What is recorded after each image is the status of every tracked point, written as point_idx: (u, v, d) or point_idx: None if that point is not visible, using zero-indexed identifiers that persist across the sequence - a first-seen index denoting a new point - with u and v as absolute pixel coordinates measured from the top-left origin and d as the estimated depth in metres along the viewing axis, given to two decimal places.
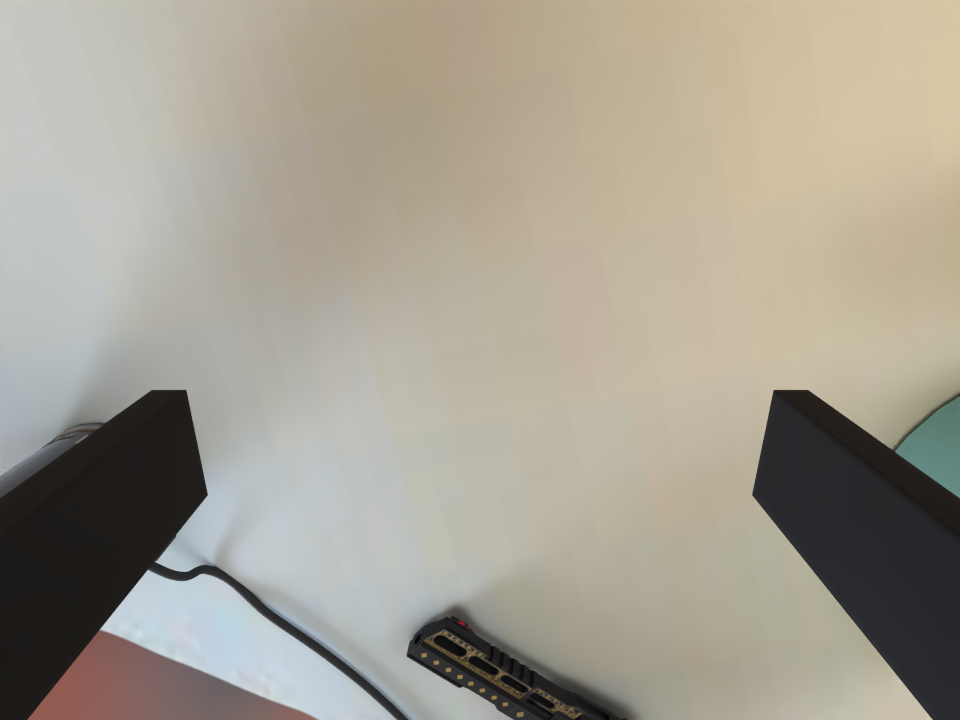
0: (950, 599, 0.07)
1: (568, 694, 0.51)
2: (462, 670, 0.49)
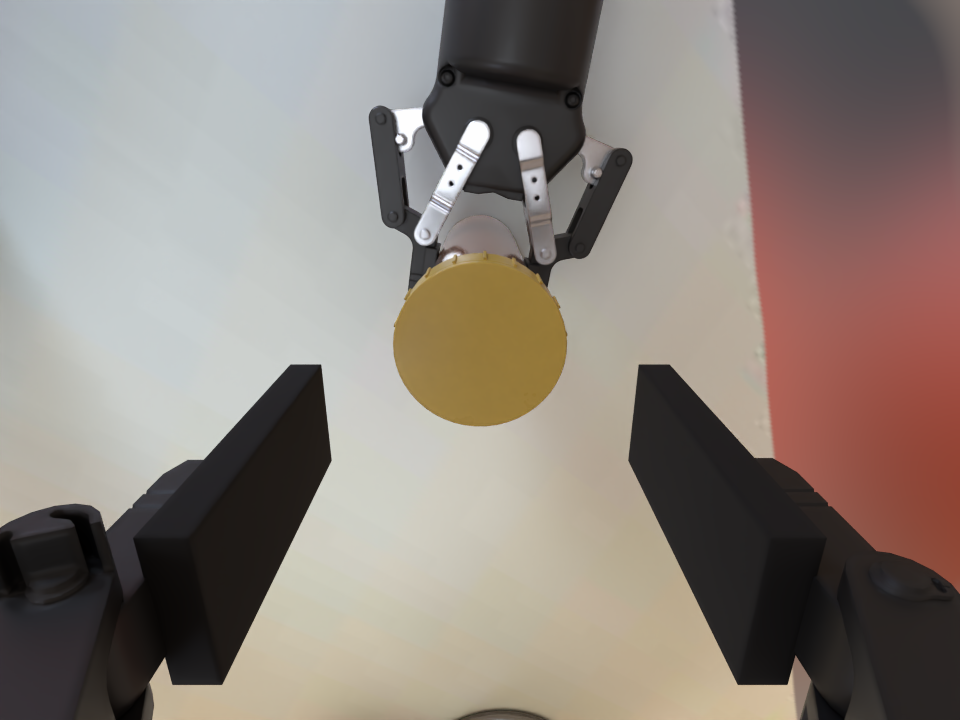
0: (719, 526, 0.09)
1: None
2: None
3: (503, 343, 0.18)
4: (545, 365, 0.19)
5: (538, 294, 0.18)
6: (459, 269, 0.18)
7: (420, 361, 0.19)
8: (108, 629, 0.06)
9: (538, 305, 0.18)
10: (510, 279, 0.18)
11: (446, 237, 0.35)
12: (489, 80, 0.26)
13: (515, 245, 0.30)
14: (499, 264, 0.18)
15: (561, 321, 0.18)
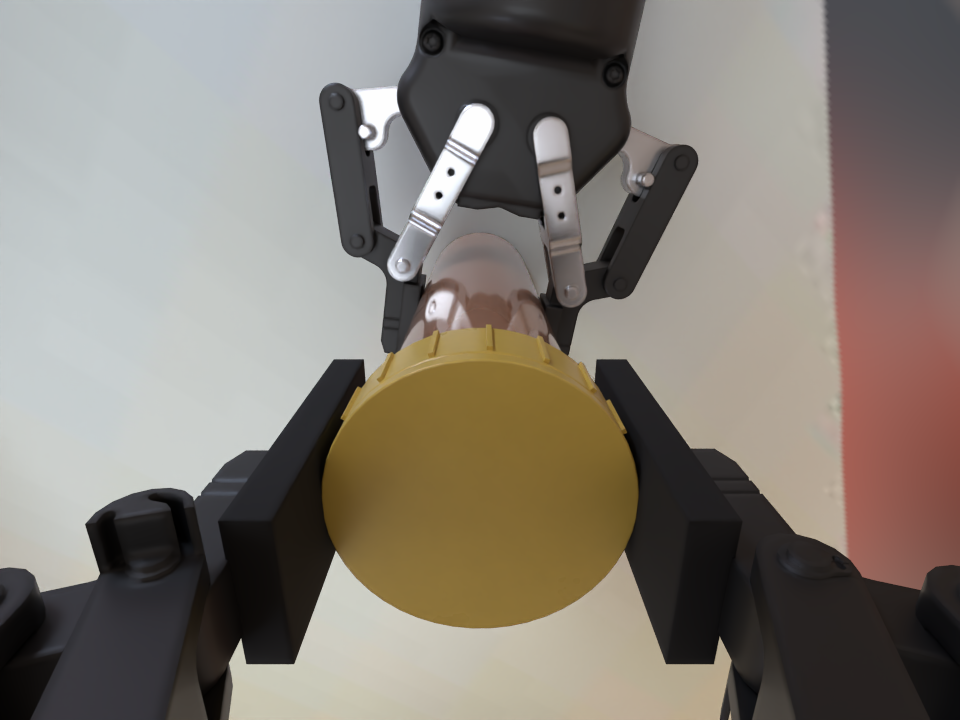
0: (653, 513, 0.09)
1: None
2: None
3: (523, 498, 0.10)
4: (598, 534, 0.10)
5: (590, 416, 0.10)
6: (440, 372, 0.09)
7: (372, 527, 0.10)
8: (198, 611, 0.07)
9: (589, 435, 0.10)
10: (537, 389, 0.09)
11: None
12: (494, 44, 0.18)
13: (529, 280, 0.21)
14: (517, 362, 0.09)
15: (631, 462, 0.10)
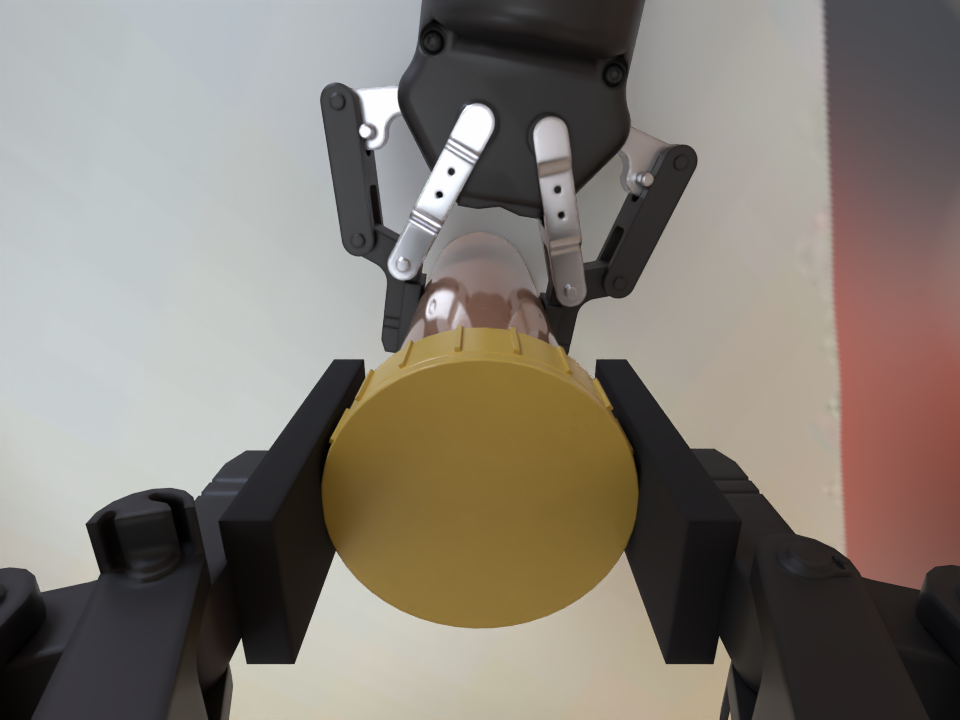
0: (653, 513, 0.09)
1: None
2: None
3: (468, 471, 0.10)
4: (512, 397, 0.09)
5: (369, 416, 0.10)
6: (337, 539, 0.10)
7: (504, 593, 0.11)
8: (198, 611, 0.07)
9: (390, 415, 0.09)
10: (346, 463, 0.10)
11: (436, 262, 0.27)
12: (494, 45, 0.18)
13: (529, 279, 0.22)
14: (323, 478, 0.10)
15: (419, 373, 0.09)
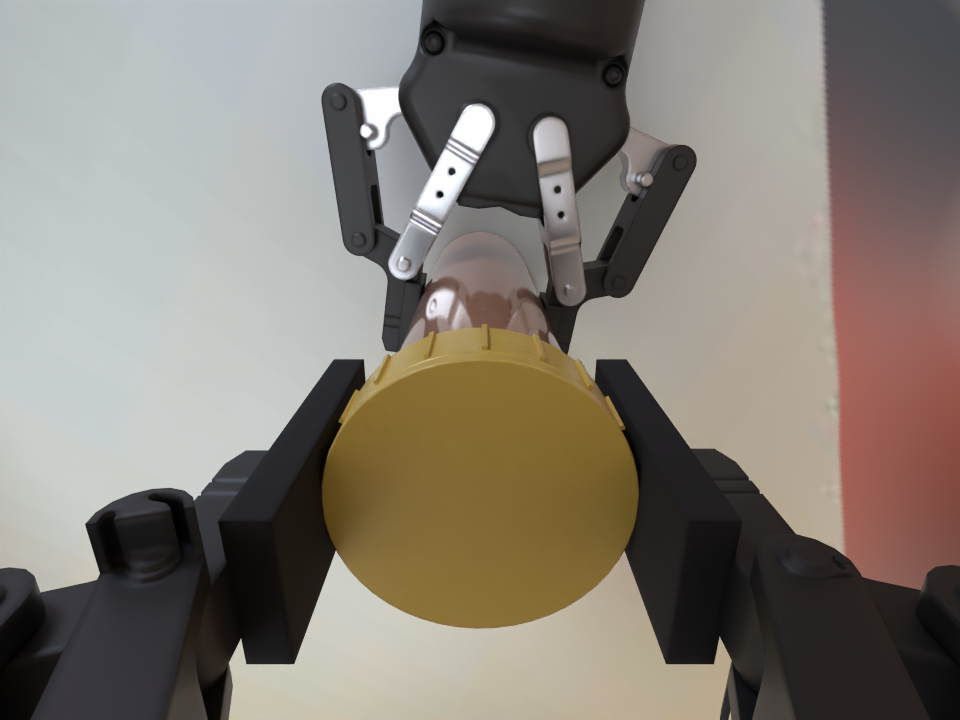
0: (653, 513, 0.09)
1: None
2: None
3: (438, 517, 0.10)
4: (356, 484, 0.10)
5: (386, 590, 0.11)
6: (516, 620, 0.11)
7: (591, 483, 0.10)
8: (198, 611, 0.07)
9: (384, 575, 0.11)
10: (434, 609, 0.11)
11: (436, 261, 0.27)
12: (494, 45, 0.18)
13: (529, 278, 0.22)
14: (453, 623, 0.11)
15: (340, 555, 0.11)
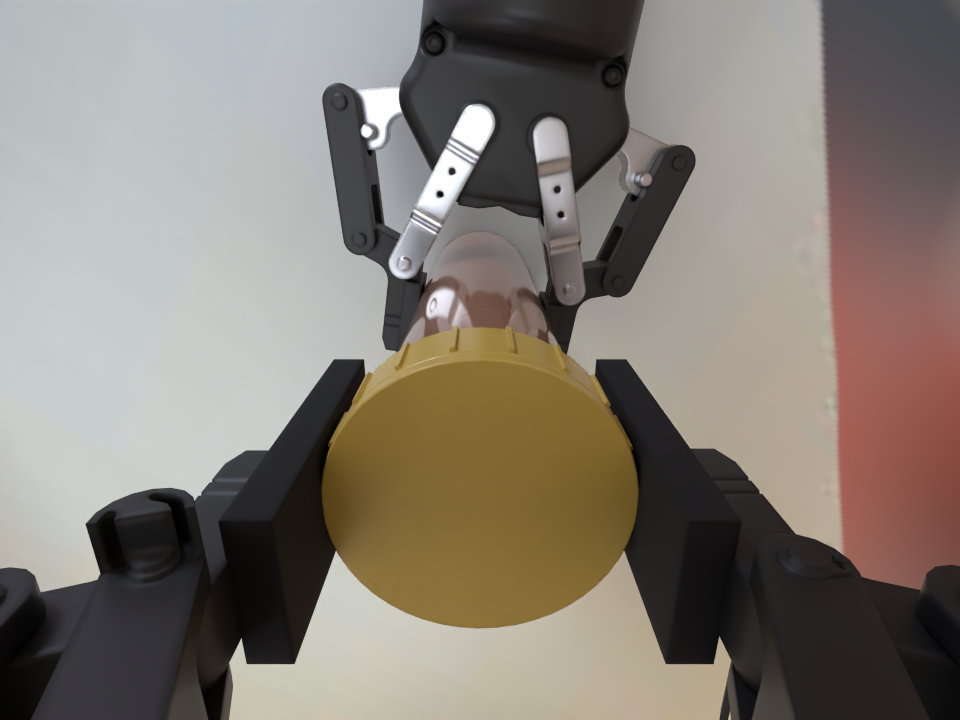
0: (652, 513, 0.09)
1: None
2: None
3: (492, 542, 0.10)
4: (455, 603, 0.11)
5: (579, 585, 0.11)
6: (629, 471, 0.10)
7: (448, 409, 0.09)
8: (198, 611, 0.07)
9: (561, 586, 0.11)
10: (607, 546, 0.10)
11: (436, 261, 0.27)
12: (494, 46, 0.18)
13: (528, 278, 0.22)
14: (631, 527, 0.10)
15: (534, 619, 0.11)
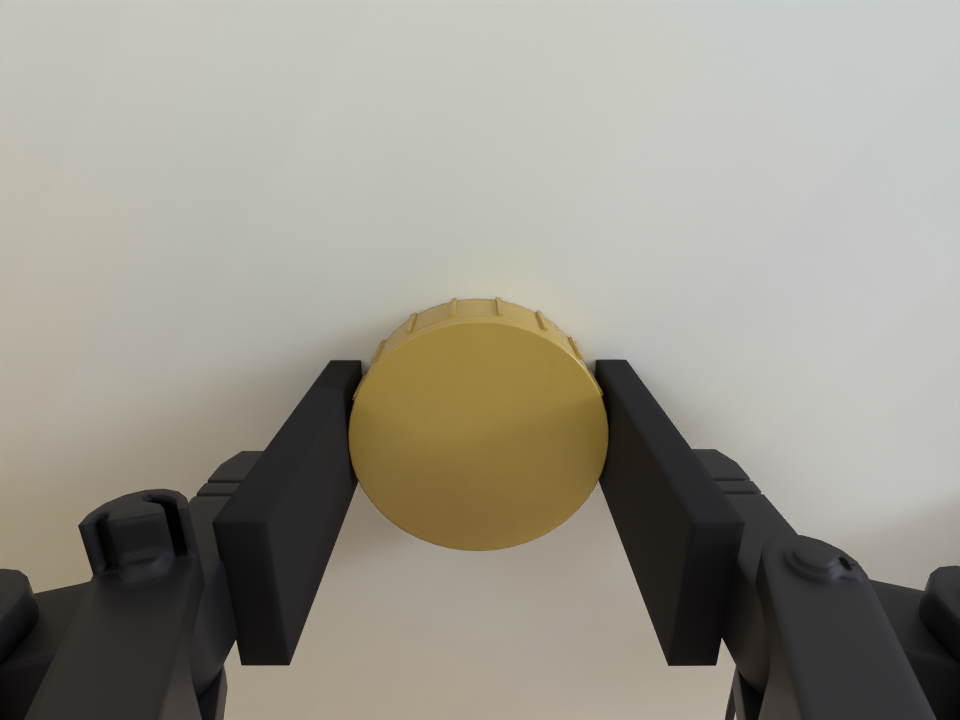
0: (654, 514, 0.09)
1: None
2: None
3: (467, 415, 0.12)
4: (498, 351, 0.12)
5: (384, 373, 0.12)
6: (363, 479, 0.13)
7: (503, 519, 0.13)
8: (192, 612, 0.07)
9: (401, 372, 0.12)
10: (367, 414, 0.12)
11: None
12: None
13: None
14: (349, 428, 0.12)
15: (422, 335, 0.11)
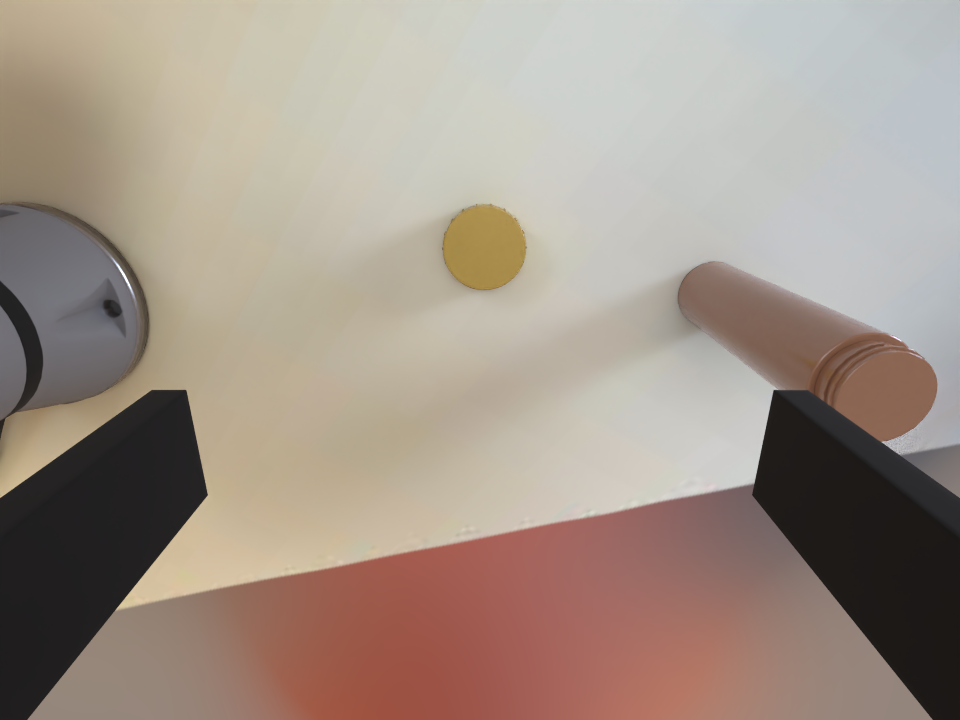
0: (950, 599, 0.07)
1: None
2: None
3: (480, 238, 0.39)
4: (490, 216, 0.38)
5: (455, 223, 0.38)
6: (447, 261, 0.39)
7: (492, 277, 0.40)
8: None
9: (460, 223, 0.38)
10: (449, 237, 0.39)
11: None
12: None
13: None
14: (443, 243, 0.39)
15: (467, 211, 0.38)
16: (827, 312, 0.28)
